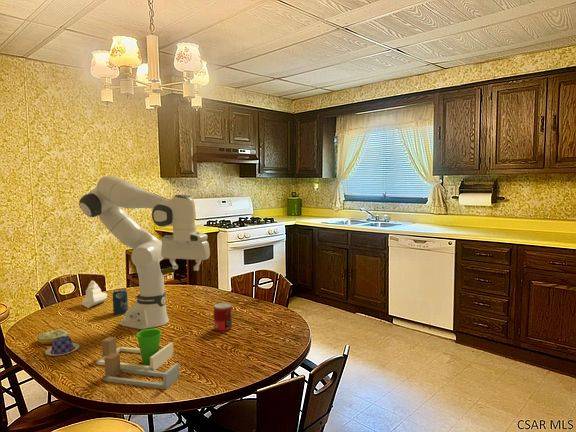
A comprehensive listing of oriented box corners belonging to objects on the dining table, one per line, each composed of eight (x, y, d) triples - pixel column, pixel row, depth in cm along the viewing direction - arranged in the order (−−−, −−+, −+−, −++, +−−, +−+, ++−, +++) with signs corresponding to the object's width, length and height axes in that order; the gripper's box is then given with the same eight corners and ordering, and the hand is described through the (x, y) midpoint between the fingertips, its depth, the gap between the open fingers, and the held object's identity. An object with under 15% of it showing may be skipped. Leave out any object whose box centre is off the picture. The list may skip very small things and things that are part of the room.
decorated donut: (71, 340, 170) (70, 331, 169) (42, 348, 162) (42, 339, 162) (62, 334, 177) (62, 325, 177) (34, 341, 169) (34, 332, 169)
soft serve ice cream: (75, 311, 213) (70, 285, 214) (95, 305, 227) (89, 281, 228) (95, 306, 210) (89, 280, 211) (113, 300, 225) (108, 276, 226)
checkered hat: (61, 359, 152) (61, 345, 151) (37, 355, 155) (36, 342, 155) (86, 346, 163) (85, 334, 163) (63, 343, 167) (62, 331, 166)
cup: (140, 357, 152) (139, 329, 151) (165, 355, 153) (163, 327, 152) (134, 368, 143) (132, 338, 142) (160, 366, 144) (158, 337, 143)
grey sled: (101, 380, 134) (100, 360, 134) (117, 369, 142) (116, 350, 141) (166, 389, 128) (165, 368, 127) (179, 377, 136) (178, 357, 135)
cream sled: (93, 364, 146) (92, 345, 146) (118, 349, 159) (117, 332, 159) (153, 371, 140) (152, 352, 140) (173, 355, 153) (172, 337, 152)
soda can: (124, 315, 201) (123, 291, 200) (111, 315, 201) (109, 292, 200) (130, 310, 208) (129, 288, 207) (117, 310, 208) (116, 288, 207)
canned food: (228, 332, 176) (228, 308, 175) (211, 331, 178) (211, 307, 177) (234, 326, 183) (233, 303, 182) (218, 325, 185) (217, 302, 184)
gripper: (157, 235, 158) (158, 270, 159) (203, 237, 152) (204, 272, 153) (166, 233, 164) (167, 266, 165) (211, 235, 158) (212, 269, 160)
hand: (185, 269), depth 159 cm, fingers open, 8 cm apart
